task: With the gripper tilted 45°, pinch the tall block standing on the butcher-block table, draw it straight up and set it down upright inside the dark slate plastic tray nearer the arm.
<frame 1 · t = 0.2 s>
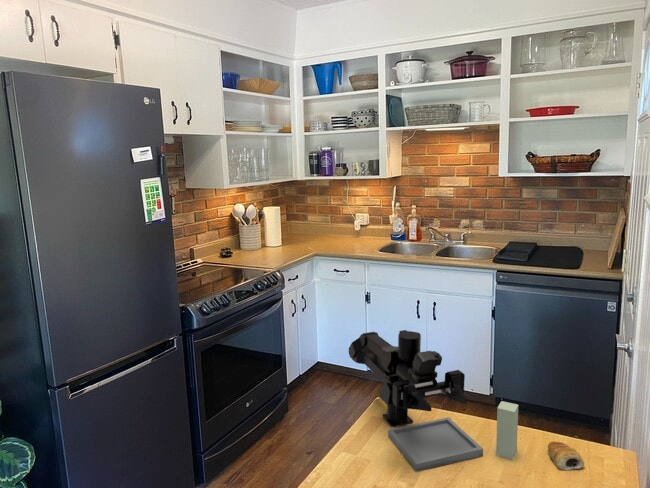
hand: (448, 405, 114), 17 cm above the table, tool horizontal, fingers open, 9 cm apart
pastry: (563, 462, 120), on the table
tray: (433, 446, 127), on the table
block: (506, 453, 123), on the table
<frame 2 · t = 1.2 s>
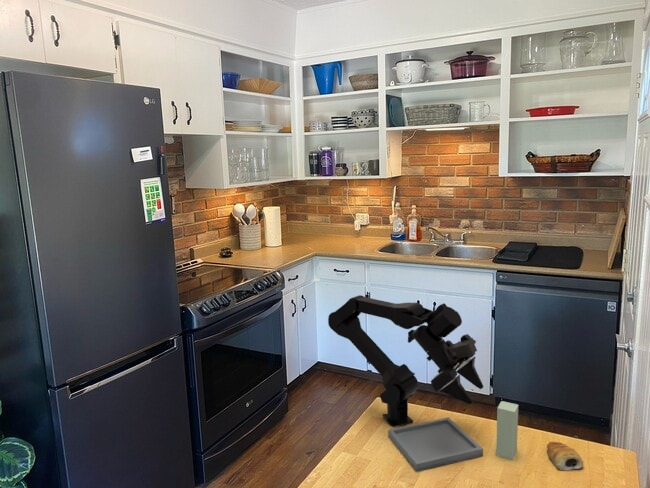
hand: (477, 395, 125), 14 cm above the table, tool tilted 45°, fingers open, 9 cm apart
nothing on the table moved.
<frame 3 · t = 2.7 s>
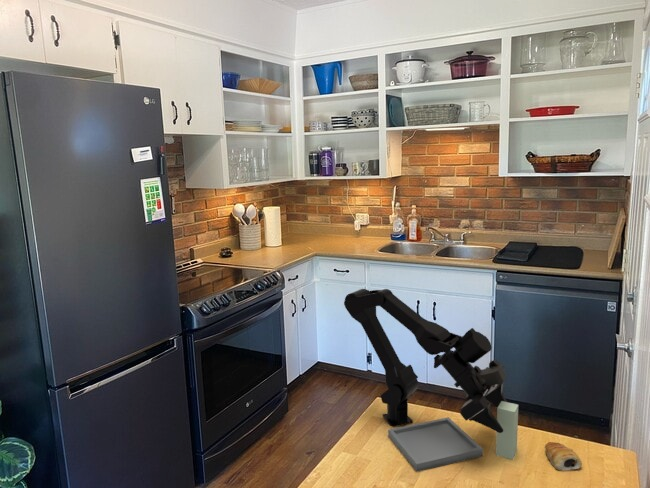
hand: (506, 423, 122), 8 cm above the table, tool tilted 45°, fingers open, 9 cm apart
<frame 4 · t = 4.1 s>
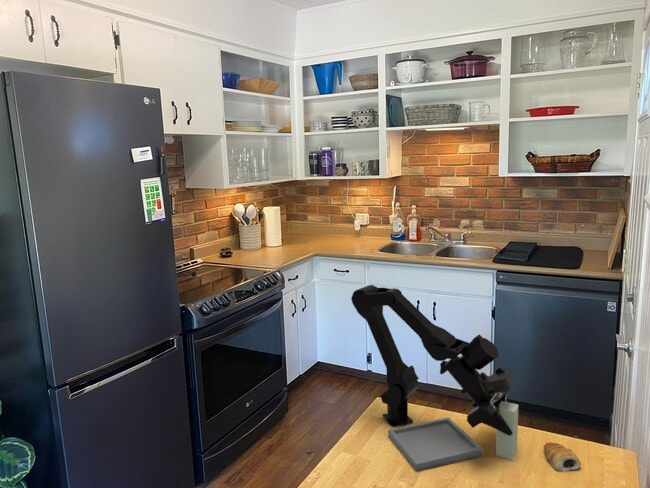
hand: (513, 430, 121), 7 cm above the table, tool tilted 45°, fingers closed on block, 4 cm apart
block: (506, 453, 123), on the table, touching gripper
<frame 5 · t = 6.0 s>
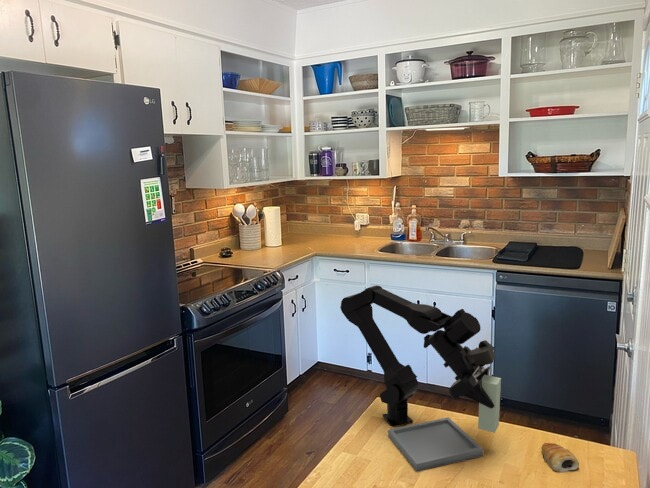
hand: (495, 403, 121), 13 cm above the table, tool tilted 45°, fingers closed on block, 4 cm apart
block: (488, 426, 123), point 7 cm above the table, touching gripper
when the fingers open (9 cm above the table, at t = 8.3 s): block drops 1 cm, resting on tray.
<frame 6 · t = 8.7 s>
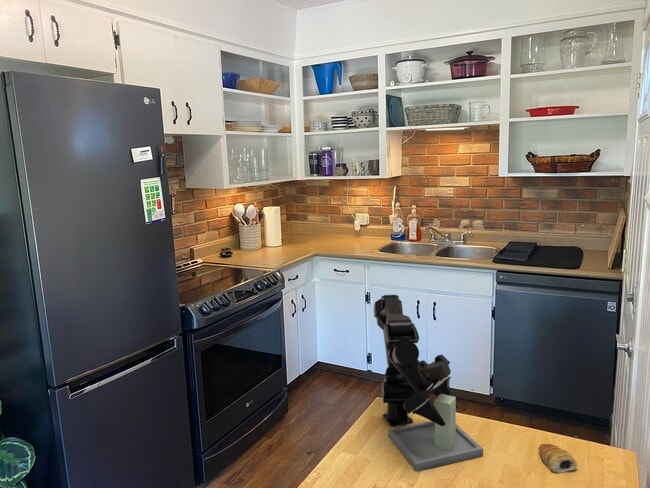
hand: (450, 416, 124), 9 cm above the table, tool tilted 45°, fingers open, 9 cm apart
block: (445, 444, 126), point 1 cm above the table, touching tray
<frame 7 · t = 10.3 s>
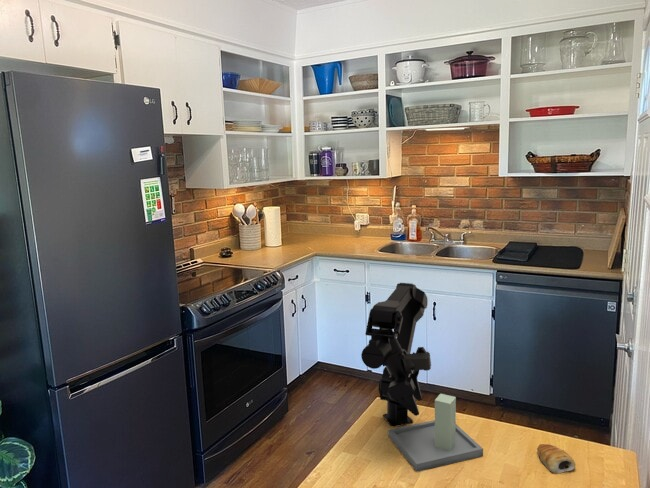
hand: (419, 407, 128), 10 cm above the table, tool tilted 25°, fingers open, 9 cm apart
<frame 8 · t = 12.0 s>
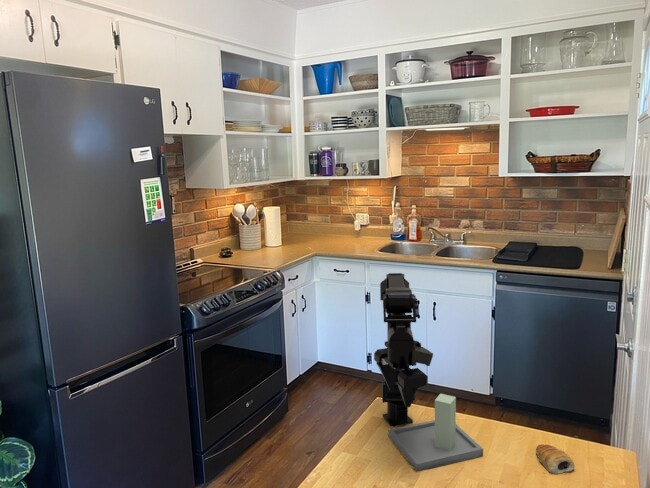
hand: (399, 398, 126), 13 cm above the table, tool pointing down, fingers open, 9 cm apart
at the end: block inside the target area on the tray (2.8 cm from its centre), point 1.0 cm above the tray's base; block tilted 0°; the gripper is holding nothing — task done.
